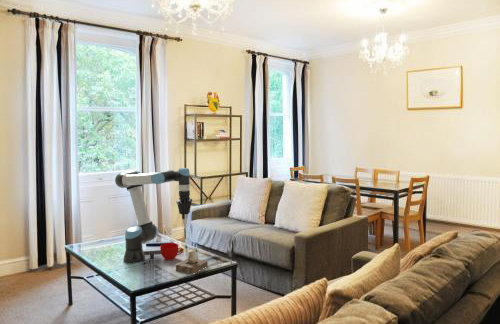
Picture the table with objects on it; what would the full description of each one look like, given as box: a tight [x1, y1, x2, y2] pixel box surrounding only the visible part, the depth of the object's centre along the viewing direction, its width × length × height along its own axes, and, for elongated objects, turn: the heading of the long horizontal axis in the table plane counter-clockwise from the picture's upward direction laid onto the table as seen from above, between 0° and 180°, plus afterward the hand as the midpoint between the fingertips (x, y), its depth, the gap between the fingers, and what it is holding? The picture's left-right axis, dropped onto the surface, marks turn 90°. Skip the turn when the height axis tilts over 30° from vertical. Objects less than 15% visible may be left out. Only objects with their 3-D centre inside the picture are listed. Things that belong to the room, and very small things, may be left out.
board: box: [175, 258, 209, 274], centre depth 288 cm, size 15×16×4 cm
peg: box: [187, 249, 197, 265], centre depth 288 cm, size 5×5×12 cm
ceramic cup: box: [159, 242, 184, 261], centre depth 307 cm, size 13×17×10 cm
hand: (184, 223), depth 297 cm, fingers closed
